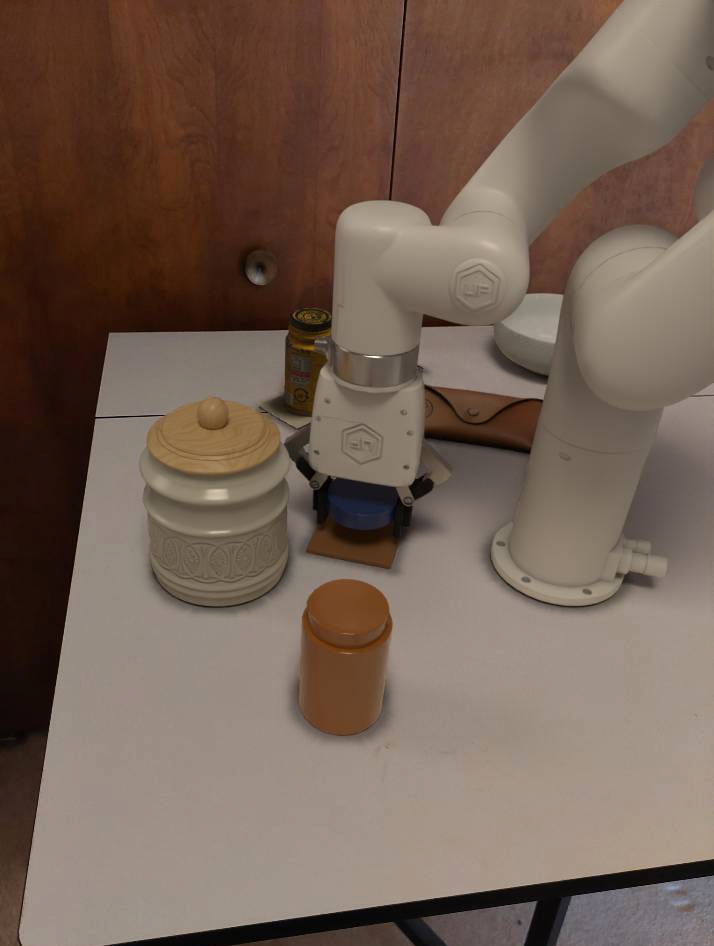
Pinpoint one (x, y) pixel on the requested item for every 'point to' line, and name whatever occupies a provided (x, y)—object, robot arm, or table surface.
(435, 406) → the sunglasses case
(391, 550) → the coaster
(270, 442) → the jar
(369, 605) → the jam jar
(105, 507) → the table surface
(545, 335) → the cereal bowl
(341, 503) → the lid
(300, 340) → the condiment
